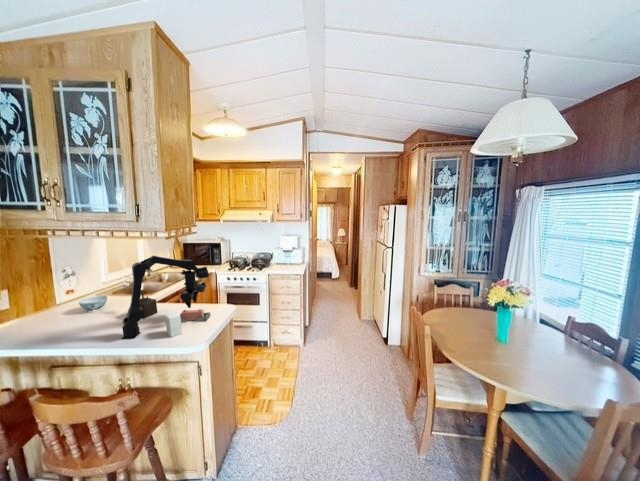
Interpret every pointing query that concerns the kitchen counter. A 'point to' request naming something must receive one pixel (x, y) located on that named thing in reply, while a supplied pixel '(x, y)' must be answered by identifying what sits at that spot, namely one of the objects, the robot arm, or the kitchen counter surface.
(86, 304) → the chinaware
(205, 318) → the shallow metal tray
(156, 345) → the kitchen counter surface
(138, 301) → the robot arm
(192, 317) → the link
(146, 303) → the dark brown boxy piece
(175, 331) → the small box
